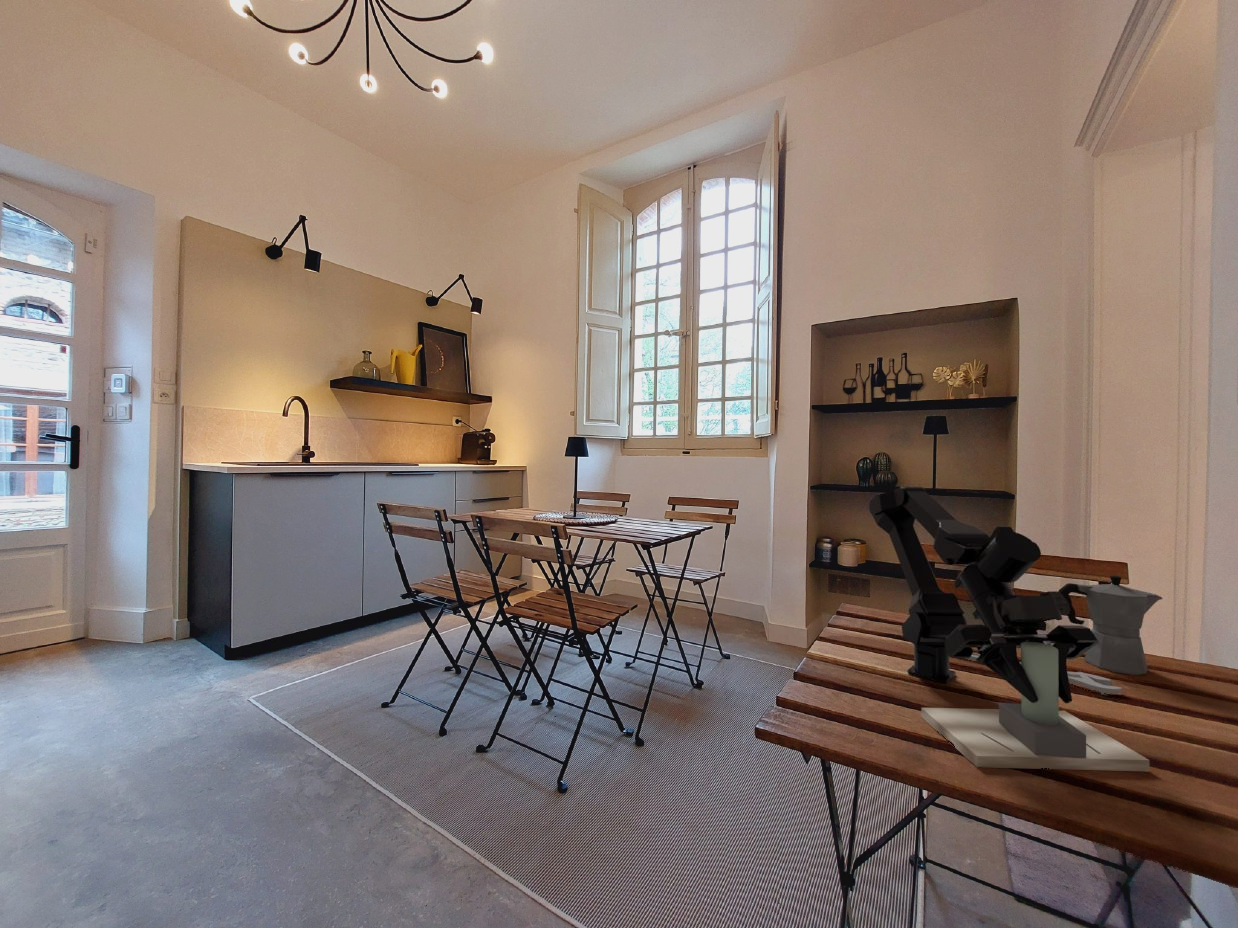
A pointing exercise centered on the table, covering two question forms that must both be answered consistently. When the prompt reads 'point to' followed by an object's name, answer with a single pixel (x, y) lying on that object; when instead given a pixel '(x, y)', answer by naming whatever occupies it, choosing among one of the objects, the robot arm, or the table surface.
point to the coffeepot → (1114, 624)
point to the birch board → (1001, 749)
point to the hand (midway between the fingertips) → (1052, 701)
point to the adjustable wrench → (1083, 680)
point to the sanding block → (1042, 708)
